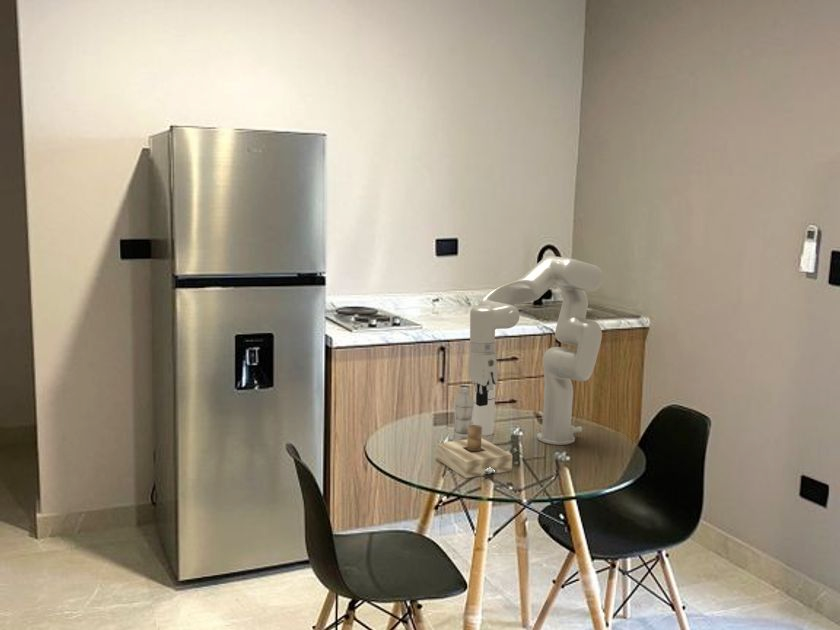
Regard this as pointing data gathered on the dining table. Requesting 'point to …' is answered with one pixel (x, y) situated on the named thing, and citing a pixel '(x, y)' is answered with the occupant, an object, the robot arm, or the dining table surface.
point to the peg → (474, 438)
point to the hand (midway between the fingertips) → (481, 404)
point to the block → (473, 458)
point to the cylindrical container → (485, 413)
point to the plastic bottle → (463, 413)
